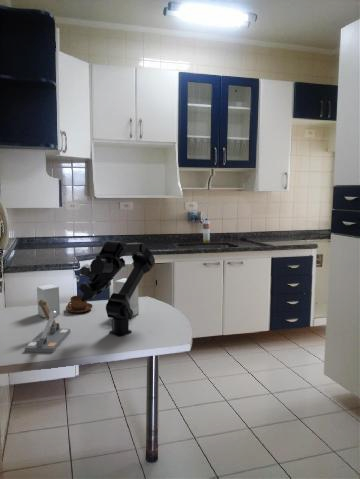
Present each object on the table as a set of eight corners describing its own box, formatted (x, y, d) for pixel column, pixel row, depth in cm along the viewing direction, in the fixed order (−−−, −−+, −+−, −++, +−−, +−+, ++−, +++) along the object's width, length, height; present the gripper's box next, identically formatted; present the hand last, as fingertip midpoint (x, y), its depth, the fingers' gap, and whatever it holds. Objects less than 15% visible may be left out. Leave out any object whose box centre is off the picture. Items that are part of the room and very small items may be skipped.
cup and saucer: (83, 316, 182) (83, 302, 181) (60, 313, 186) (59, 299, 185) (97, 308, 193) (97, 295, 192) (75, 305, 197) (74, 292, 196)
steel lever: (46, 342, 148) (59, 311, 146) (43, 345, 145) (57, 314, 143) (39, 338, 148) (52, 308, 146) (36, 341, 145) (49, 310, 143)
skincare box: (139, 314, 185) (139, 280, 183) (129, 318, 179) (129, 283, 177) (124, 310, 189) (124, 277, 187) (115, 314, 184) (114, 280, 181)
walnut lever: (59, 326, 161) (45, 297, 159) (57, 328, 158) (42, 299, 156) (53, 328, 161) (38, 300, 159) (51, 331, 158) (36, 302, 157)
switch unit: (70, 332, 162) (70, 322, 162) (53, 352, 144) (52, 341, 143) (45, 331, 163) (44, 322, 162) (25, 351, 144) (24, 341, 144)
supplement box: (60, 314, 183) (59, 286, 181) (44, 318, 179) (42, 289, 177) (53, 310, 189) (52, 283, 187) (37, 313, 184) (36, 286, 182)
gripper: (101, 253, 164) (77, 281, 168) (81, 261, 146) (55, 292, 150) (121, 273, 164) (97, 300, 167) (104, 283, 146) (77, 313, 149)
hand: (82, 300), depth 158 cm, fingers closed
